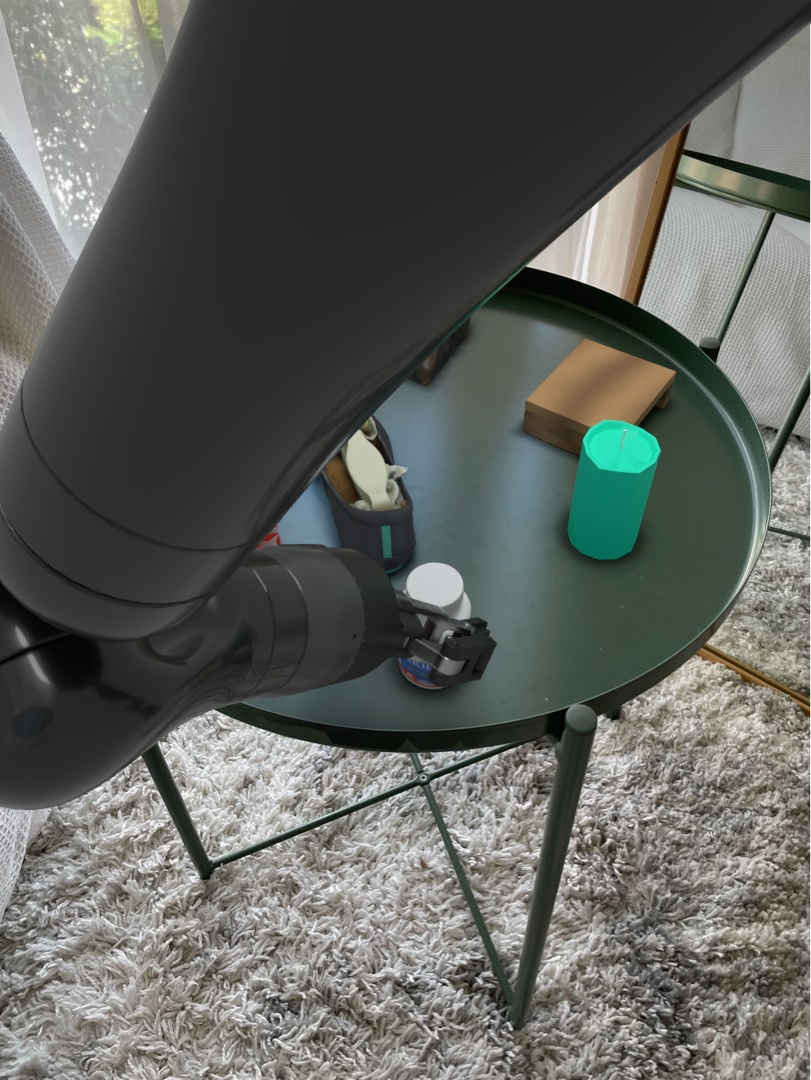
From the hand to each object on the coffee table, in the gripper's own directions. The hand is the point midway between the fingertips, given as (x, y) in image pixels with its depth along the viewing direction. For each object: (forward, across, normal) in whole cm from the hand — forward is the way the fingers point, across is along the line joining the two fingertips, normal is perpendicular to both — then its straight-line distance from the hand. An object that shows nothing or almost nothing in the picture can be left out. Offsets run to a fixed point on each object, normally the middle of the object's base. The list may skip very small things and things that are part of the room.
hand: (426, 604), depth 57 cm
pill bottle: (+7, 0, +5) cm, 9 cm away
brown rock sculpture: (+29, +25, -17) cm, 42 cm away
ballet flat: (+15, +17, -3) cm, 23 cm away
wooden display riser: (+30, +3, -18) cm, 35 cm away
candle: (+20, -5, -8) cm, 22 cm away
